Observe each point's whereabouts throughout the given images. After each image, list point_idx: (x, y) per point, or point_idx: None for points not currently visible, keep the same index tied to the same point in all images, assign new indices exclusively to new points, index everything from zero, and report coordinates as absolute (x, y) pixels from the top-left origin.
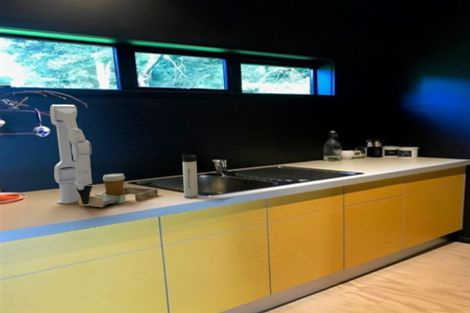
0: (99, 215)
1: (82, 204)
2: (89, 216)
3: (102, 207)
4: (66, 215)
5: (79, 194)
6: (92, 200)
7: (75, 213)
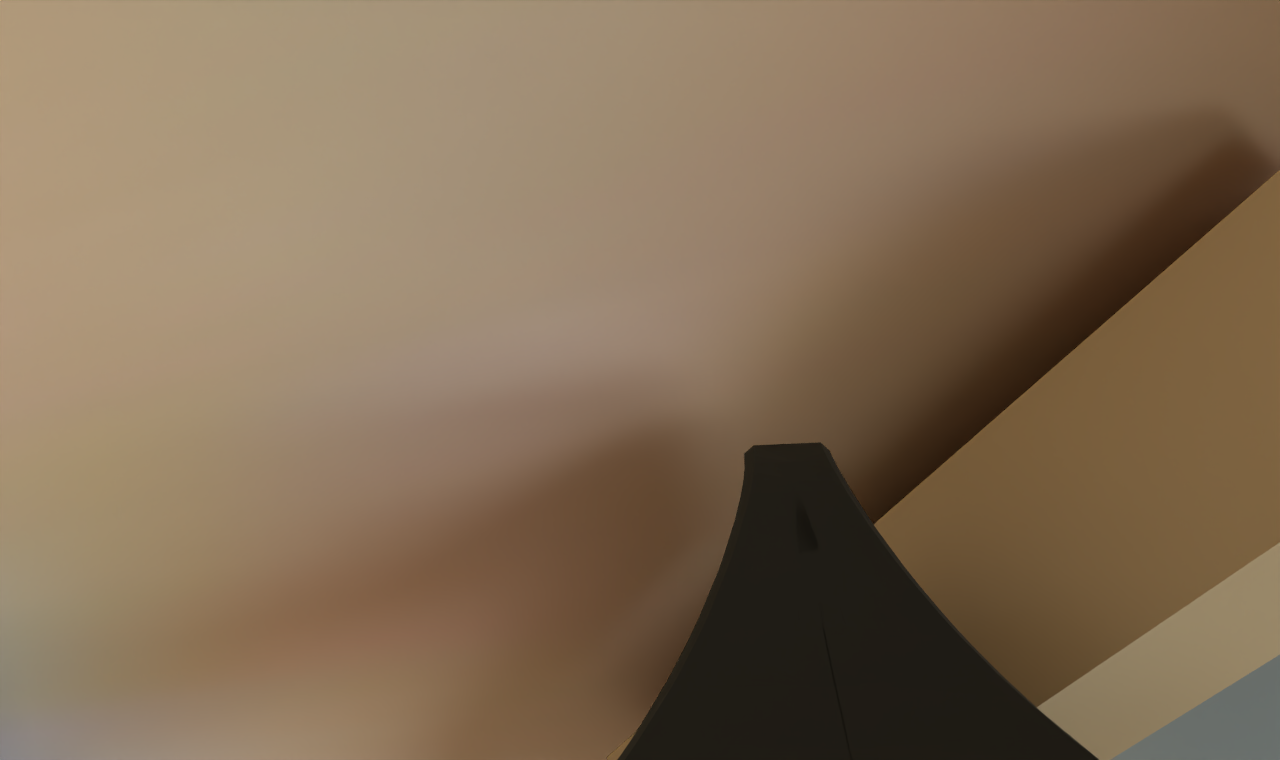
0: (98, 748)
1: (1154, 291)
2: (3, 614)
3: None
4: (52, 37)
5: (653, 707)
6: None
7: (300, 245)
